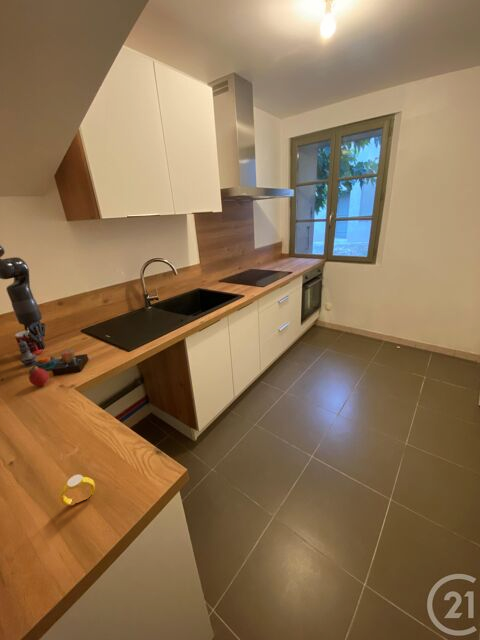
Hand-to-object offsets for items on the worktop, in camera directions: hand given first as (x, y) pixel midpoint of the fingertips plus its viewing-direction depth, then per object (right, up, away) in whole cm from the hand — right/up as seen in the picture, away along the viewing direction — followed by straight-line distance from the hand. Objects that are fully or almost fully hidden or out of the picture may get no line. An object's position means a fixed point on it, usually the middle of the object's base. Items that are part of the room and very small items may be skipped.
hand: (42, 348), depth 109 cm
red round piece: (+8, -13, -10) cm, 18 cm away
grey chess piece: (-9, -8, +6) cm, 13 cm away
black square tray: (+12, -8, +1) cm, 14 cm away
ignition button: (0, -6, +2) cm, 6 cm away
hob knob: (+12, -5, 0) cm, 13 cm away
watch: (+49, -27, -53) cm, 76 cm away
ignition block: (+1, -8, +3) cm, 8 cm away
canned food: (-15, -4, +15) cm, 22 cm away
